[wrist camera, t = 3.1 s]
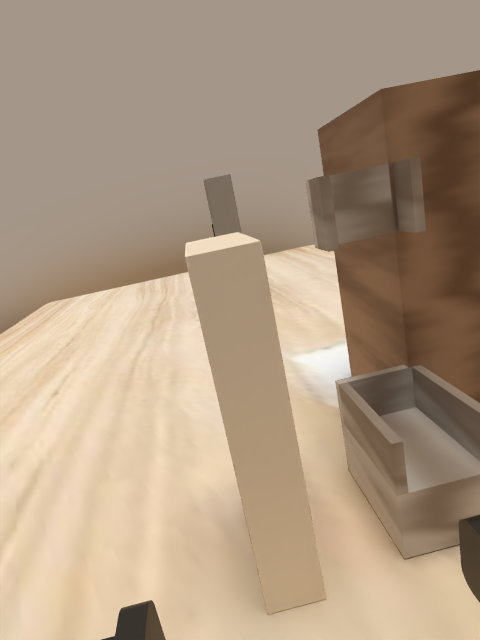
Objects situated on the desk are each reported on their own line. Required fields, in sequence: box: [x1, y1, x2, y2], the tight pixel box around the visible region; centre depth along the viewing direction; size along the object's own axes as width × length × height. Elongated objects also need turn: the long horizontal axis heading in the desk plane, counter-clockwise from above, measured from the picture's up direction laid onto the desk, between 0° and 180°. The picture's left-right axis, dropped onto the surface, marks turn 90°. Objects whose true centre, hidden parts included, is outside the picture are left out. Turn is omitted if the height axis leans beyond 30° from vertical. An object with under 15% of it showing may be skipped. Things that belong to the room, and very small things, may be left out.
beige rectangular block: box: [185, 232, 326, 615], centre depth 23 cm, size 3×8×18 cm, turn 7°
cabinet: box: [306, 70, 480, 559], centre depth 29 cm, size 15×20×24 cm
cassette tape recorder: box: [204, 174, 242, 237], centre depth 90 cm, size 14×6×25 cm, turn 2°
